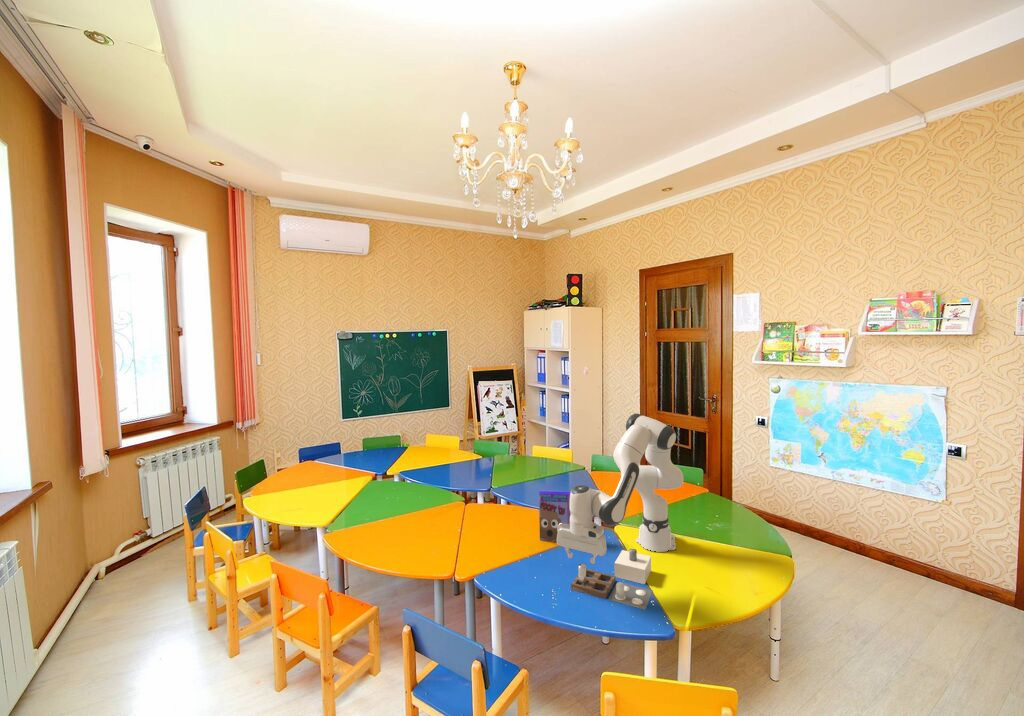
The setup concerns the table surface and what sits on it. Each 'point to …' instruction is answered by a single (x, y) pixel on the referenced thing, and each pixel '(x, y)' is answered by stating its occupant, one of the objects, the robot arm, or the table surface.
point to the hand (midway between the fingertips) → (581, 560)
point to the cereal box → (553, 512)
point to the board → (631, 595)
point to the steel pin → (582, 574)
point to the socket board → (594, 584)
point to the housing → (633, 566)
